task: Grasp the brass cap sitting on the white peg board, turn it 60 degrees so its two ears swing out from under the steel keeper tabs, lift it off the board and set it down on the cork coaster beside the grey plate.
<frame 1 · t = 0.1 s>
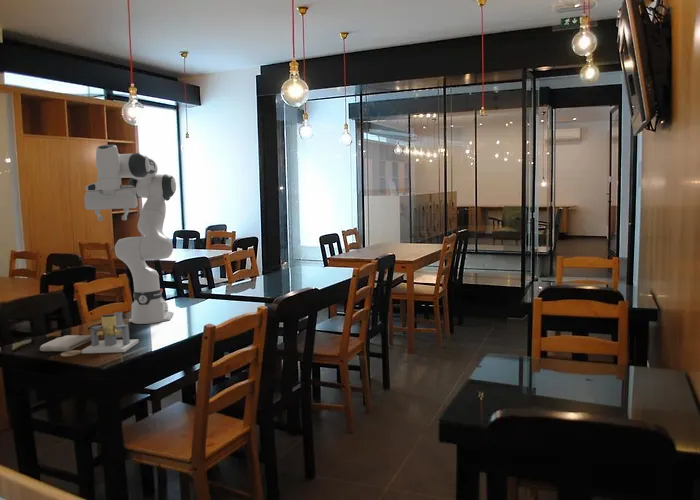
hand: (112, 220, 236), 48 cm above the table, tool pointing down, fingers open, 8 cm apart
cork coaster: (71, 353, 219), on the table
bayonet cap: (110, 334, 225), point 5 cm above the table, touching white peg board
white peg board: (111, 347, 225), on the table
washcloth: (67, 347, 232), on the table
flask: (120, 336, 243), on the table
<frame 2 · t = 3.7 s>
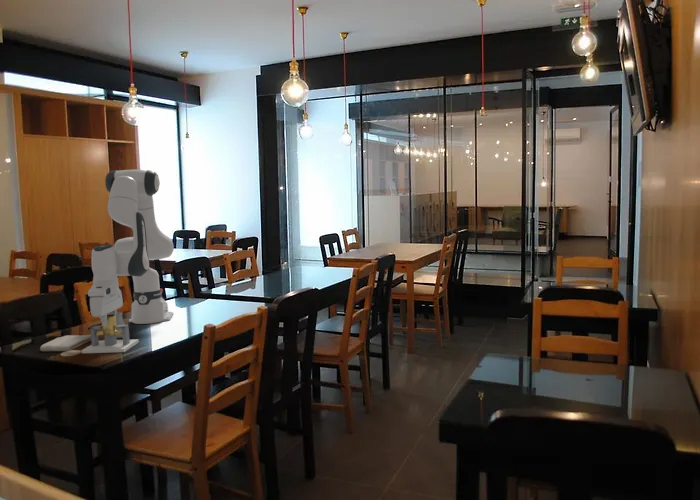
hand: (109, 323, 224), 9 cm above the table, tool pointing down, fingers closed on bayonet cap, 5 cm apart
bayonet cap: (110, 334, 225), point 5 cm above the table, touching white peg board, gripper
everything else where it was.
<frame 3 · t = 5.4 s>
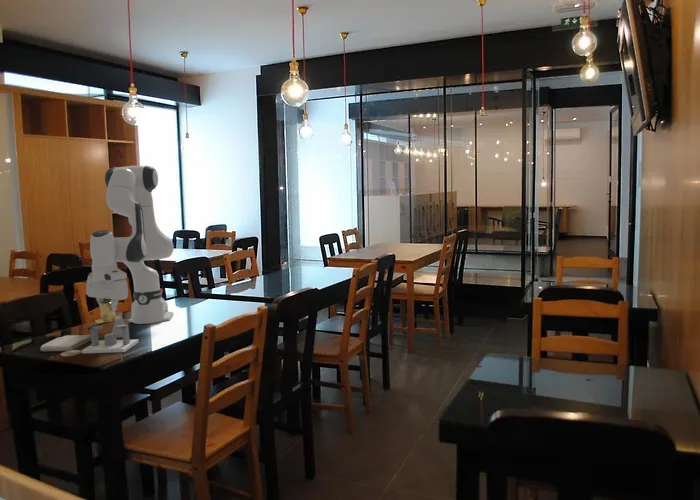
hand: (108, 309, 224), 15 cm above the table, tool pointing down, fingers closed on bayonet cap, 5 cm apart
bayonet cap: (108, 320, 224), point 10 cm above the table, touching gripper
everything else where it was.
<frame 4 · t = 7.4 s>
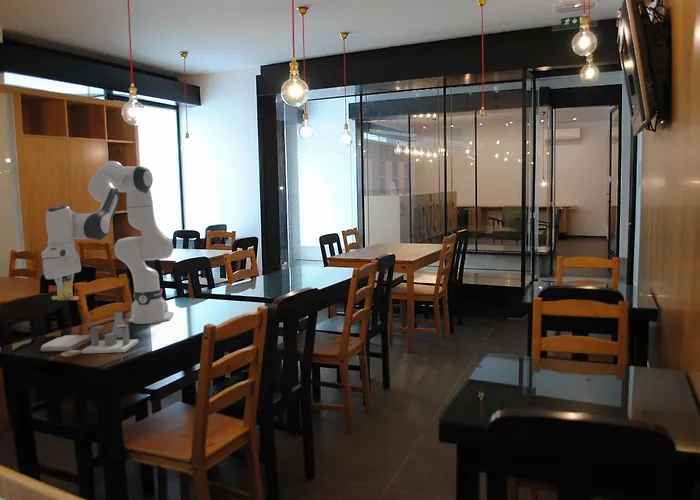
hand: (65, 287, 216), 25 cm above the table, tool pointing down, fingers closed on bayonet cap, 5 cm apart
bayonet cap: (65, 299, 217), point 21 cm above the table, touching gripper
everything else where it was.
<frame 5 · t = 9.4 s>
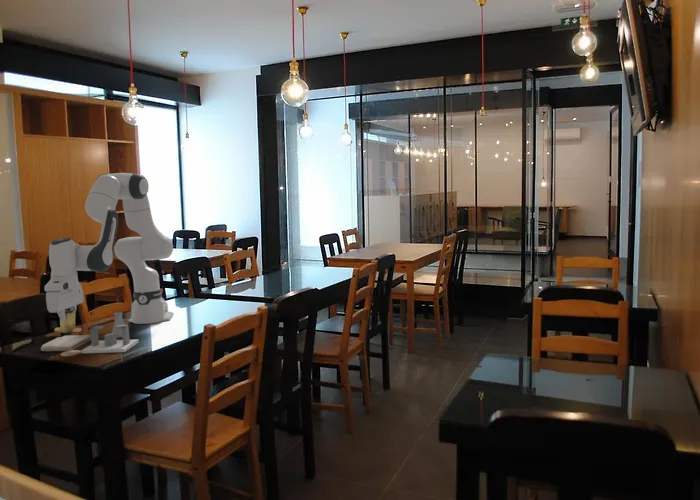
hand: (68, 319, 217), 13 cm above the table, tool pointing down, fingers closed on bayonet cap, 5 cm apart
bayonet cap: (68, 330, 218), point 9 cm above the table, touching gripper
everything else where it was.
when the fingers open (6 cm above the table, at t = 11.2 s): bayonet cap drops 1 cm, resting on white peg board, cork coaster.
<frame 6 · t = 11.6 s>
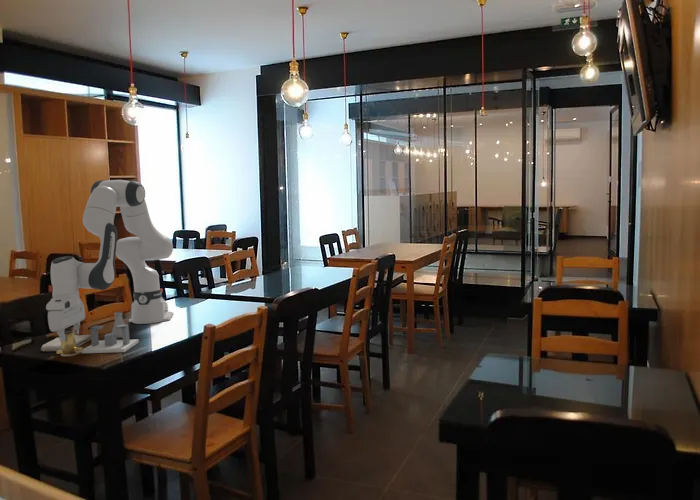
hand: (69, 337, 218), 6 cm above the table, tool pointing down, fingers open, 8 cm apart
bayonet cap: (70, 351, 219), point 1 cm above the table, tilted 6°, touching white peg board, cork coaster
everything else where it was.
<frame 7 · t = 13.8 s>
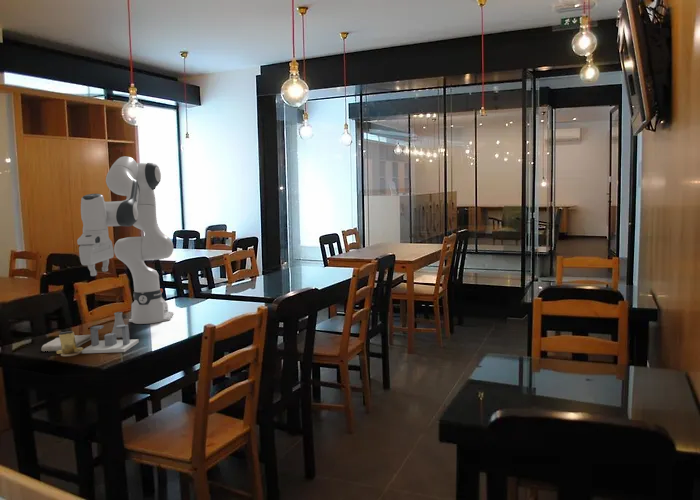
hand: (99, 273, 224), 29 cm above the table, tool pointing down, fingers open, 8 cm apart
nothing on the table moved.
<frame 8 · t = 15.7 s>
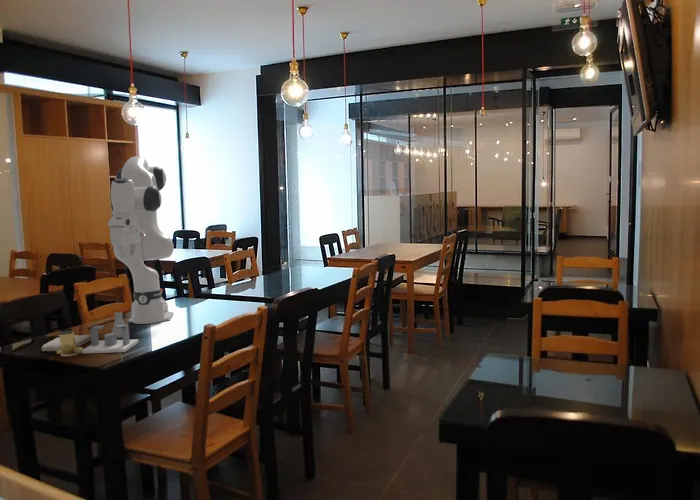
hand: (127, 256, 230), 34 cm above the table, tool pointing down, fingers open, 8 cm apart
nothing on the table moved.
at the end: bayonet cap 0.4 cm from the cork coaster (horizontally); bayonet cap point 0.7 cm above the table; bayonet cap tilted 6° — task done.
